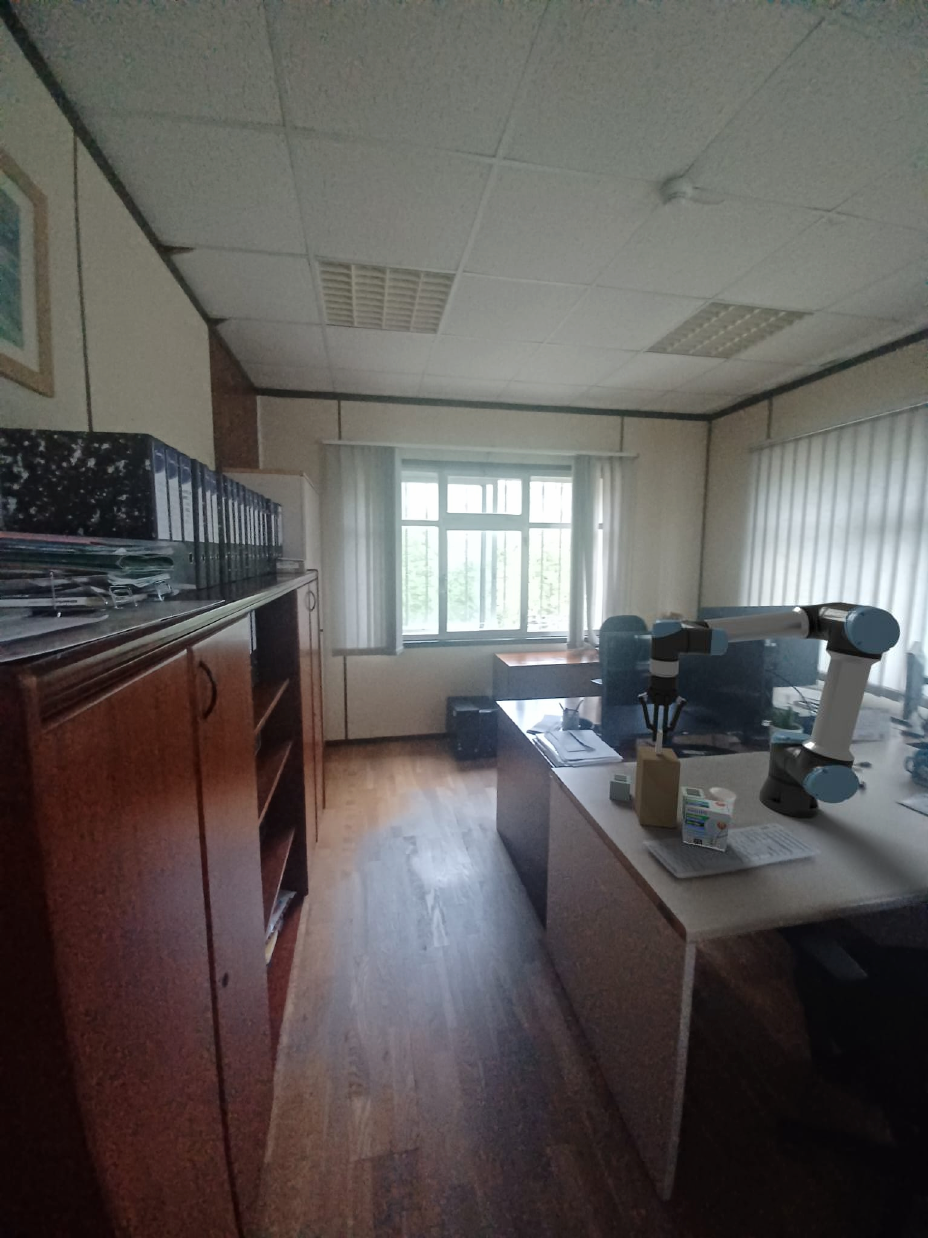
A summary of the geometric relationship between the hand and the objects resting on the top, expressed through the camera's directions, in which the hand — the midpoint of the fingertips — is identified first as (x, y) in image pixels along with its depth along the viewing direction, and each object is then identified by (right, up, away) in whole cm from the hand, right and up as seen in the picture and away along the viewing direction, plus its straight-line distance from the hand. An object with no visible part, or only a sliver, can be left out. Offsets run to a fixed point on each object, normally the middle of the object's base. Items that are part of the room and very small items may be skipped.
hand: (658, 752), depth 134 cm
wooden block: (0, -20, +3) cm, 21 cm away
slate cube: (-6, -19, +15) cm, 25 cm away
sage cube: (+13, -20, +7) cm, 25 cm away
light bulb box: (+9, -22, -9) cm, 25 cm away
